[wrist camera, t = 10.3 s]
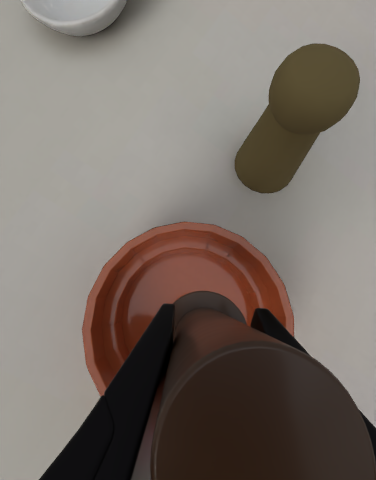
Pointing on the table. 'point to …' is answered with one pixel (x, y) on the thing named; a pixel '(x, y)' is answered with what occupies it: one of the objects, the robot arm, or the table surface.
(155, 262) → the bowl
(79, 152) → the table surface
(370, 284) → the table surface
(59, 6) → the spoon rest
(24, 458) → the table surface
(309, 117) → the olive game pawn
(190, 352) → the pestle
